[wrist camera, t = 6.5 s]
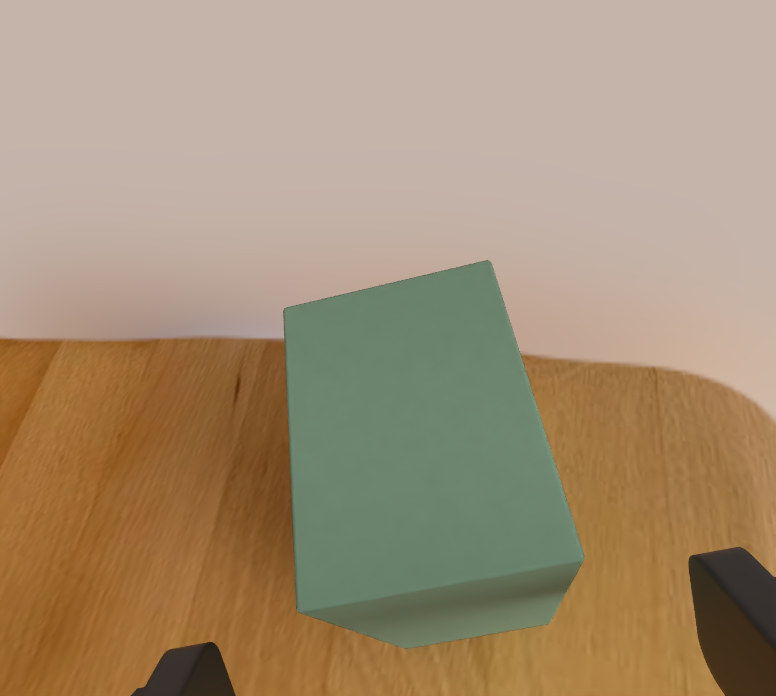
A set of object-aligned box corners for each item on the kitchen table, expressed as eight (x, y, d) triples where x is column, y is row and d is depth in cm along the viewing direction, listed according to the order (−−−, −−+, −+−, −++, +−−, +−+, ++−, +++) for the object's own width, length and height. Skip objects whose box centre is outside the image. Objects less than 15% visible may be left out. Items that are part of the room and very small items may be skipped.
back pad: (501, 439, 20) (490, 257, 11) (550, 624, 17) (586, 560, 8) (378, 464, 20) (282, 307, 12) (404, 649, 17) (294, 614, 9)
